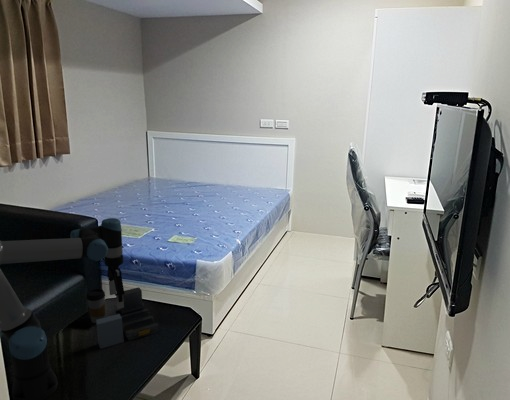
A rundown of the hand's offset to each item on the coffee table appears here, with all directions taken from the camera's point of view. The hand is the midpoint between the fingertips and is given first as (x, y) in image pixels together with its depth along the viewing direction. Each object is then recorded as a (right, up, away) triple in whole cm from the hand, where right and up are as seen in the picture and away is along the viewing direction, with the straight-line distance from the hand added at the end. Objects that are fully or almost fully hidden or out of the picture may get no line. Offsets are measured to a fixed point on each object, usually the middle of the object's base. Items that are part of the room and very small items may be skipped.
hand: (116, 300), depth 180 cm
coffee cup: (-16, -15, +22) cm, 31 cm away
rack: (+3, -15, +19) cm, 25 cm away
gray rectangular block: (-4, -20, +4) cm, 20 cm away
